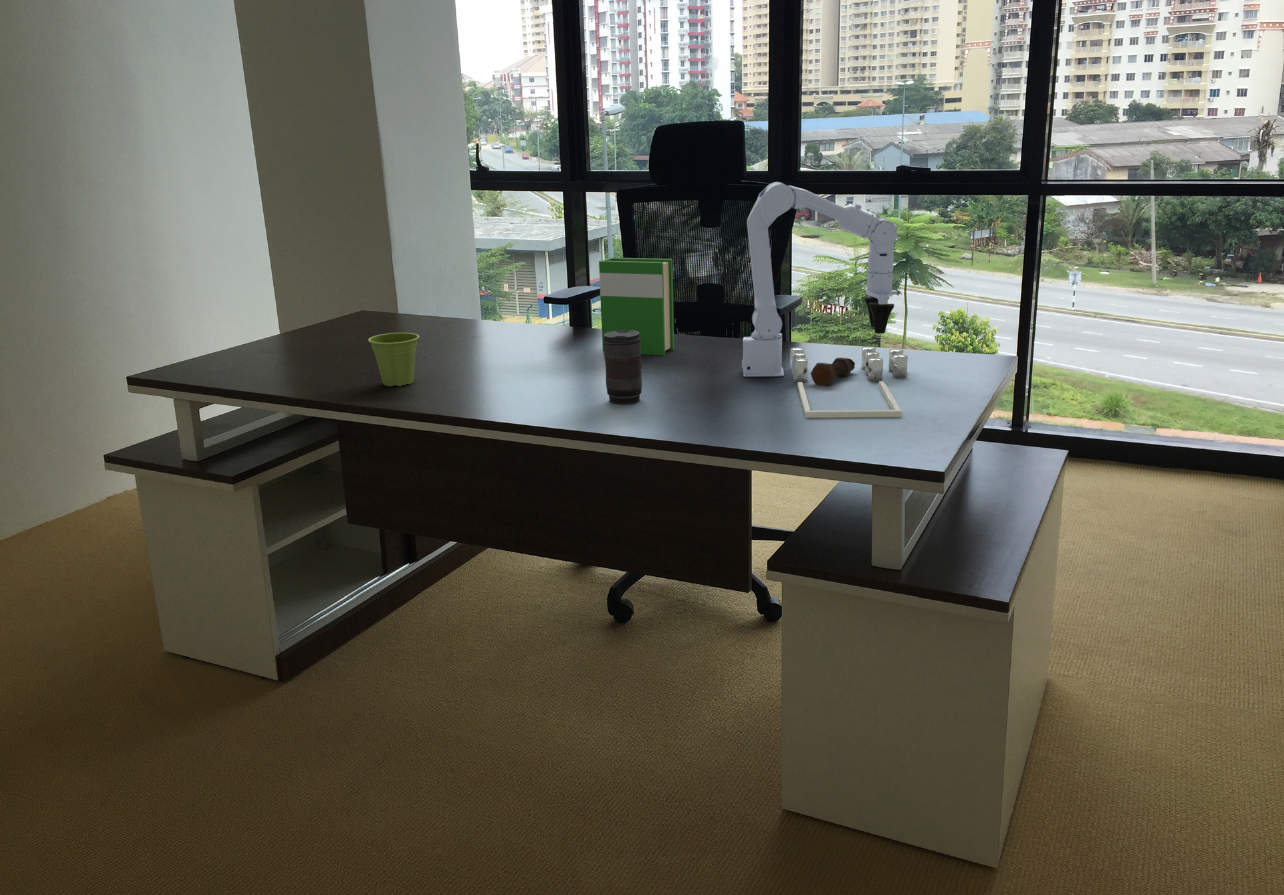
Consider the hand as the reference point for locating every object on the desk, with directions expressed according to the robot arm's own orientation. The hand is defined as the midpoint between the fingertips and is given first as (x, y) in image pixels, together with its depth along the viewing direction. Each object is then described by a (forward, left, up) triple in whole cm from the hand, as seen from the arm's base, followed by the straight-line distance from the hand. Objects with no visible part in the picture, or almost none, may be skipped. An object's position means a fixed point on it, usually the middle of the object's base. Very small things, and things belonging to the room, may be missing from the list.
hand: (877, 330), depth 241 cm
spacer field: (-7, -3, -10) cm, 13 cm away
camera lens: (-58, -26, -10) cm, 64 cm away
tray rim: (-10, -27, -10) cm, 31 cm away
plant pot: (-114, -8, -10) cm, 115 cm away
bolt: (-10, -7, -10) cm, 16 cm away
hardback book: (-59, +27, -10) cm, 65 cm away
